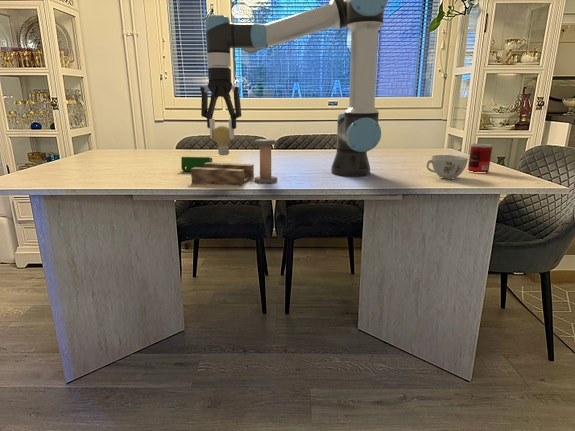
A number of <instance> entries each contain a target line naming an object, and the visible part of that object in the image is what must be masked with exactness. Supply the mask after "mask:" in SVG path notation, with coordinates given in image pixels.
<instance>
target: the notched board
mask: <svg viewBox="0 0 575 431" xmlns="http://www.w3.org/2000/svg"><path fill="white" fill-rule="evenodd" d="M254 165H255V164H253V163H252V164H251V163H233V162H231V163H230V162H229V163H228V162H207V163H205V164H204V168H202V167H194V168H192V169H191V172H190V173H191V183H192V184H201V185H204V184H205V185H221V186H239V187H241V186H243V185H245V184H247V183H248V182H250V181H251V180H254V178H255V174H254V170H255V169H254V168H255V166H254Z"/></svg>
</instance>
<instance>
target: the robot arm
mask: <svg viewBox="0 0 575 431" xmlns="http://www.w3.org/2000/svg"><path fill="white" fill-rule="evenodd" d="M388 1H389V0H330V1H329V4H328V3H327V4H325V5H322V6H319V7H315V8H311V9H309V10H306V11H302V12H300V13H296V14H292V15H290V16H288V17H284V18H281V19H278V20H275V21H271V22H267V23H265V24H264V23H258V22H254V23H253V22H252V23H245V22H243V23H237V22H235V23H234V22H231V21H230V17H228V16H227V15H223V14H222V15H220V14H211V15H207V17H206V18H205V39H206V50H207V52H206V54H207V67H208V69H207V76H208V78H207V79H208V83H207V85H205V86H200V87H199V89H200V90H199V91H200V93H201V104H200V105H201V106H200V108H201V109H200V112H201V114H200V115H201V117H202V118H205V119H206V124H207V125H206V127H207V128H208V129H209V136H210V138H209V139H214V137H213V132H214V130H215V128H216V123H215V121H216V120H215V119H216V118H214V117H213V116H214V113H215V112H214V111H215V108H216V104H217V100H218V98H220V97H221V98H223V100H224V101H225V106H226V108H227V111H228V114H229V116H230V119H228V128H229V139H231V140H233V139H235V130H236V129H237V120H238V119H239V118H241V117H242V106H241V97H240V93H241V87H240V86H237V85H236V86H235V85H233V82H232V69H231V62H232V61H231V49H242V50H243V52H245V53H247V54H255V53H258V52H259V51H261V50H264V49H267V48H270V47H274V46H277V45H280V44H283V43H287V42H289V41H294V40H297V39H300V38H303V37H306V36H309V35H312V34H315V33H318V32H319V33H320V32H322V31H325V30H329V29H332V28H335V29H337V30H339V29H343V28H346V27H347V28H348V30H349V31H350V34H351V36H350V39H351V40H350V66H349V68H350V70H349V71H350V73H349V100H348V101H349V102H348V103H349V106H348V108H346V110H345V111H344V112H340V113H339V114H338V115H337V116H338V117H337V130H336V132H337V134H336V139H337V140H336V154H335V156H334V158H333V162H332V165H331V168H330V169H331V171H330V172H331V173H332V175H333V174H334V175H337V176H343V177H363V176H368V175H370V174H371V165H370V162H369V158H368V153H367V152H369V151H372V150H374V148H376V147H377V146H378V145H379V143H380V141H381V137H382V129H381V126H380V124H379V115H380V113H379V112H380V111H379V110H378V109H377V108H376V106H375V105H376V85H377V84H376V82H377V81H376V80H377V62H378V61H377V58H378V55H377V54H378V38H379V30H380V29H381V27H383V26H384V16H385V15H384V12H385V11H384V10H385V8H386V7H387V4H388ZM209 91H210V92H211V93H210V100H209V99H208V98H209ZM231 91H232V93H233V102H234V105H233V103H232V100H231V98H232V97H231V94H230V92H231Z"/></svg>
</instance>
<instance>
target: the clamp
mask: <svg viewBox="0 0 575 431" xmlns="http://www.w3.org/2000/svg"><path fill="white" fill-rule="evenodd" d="M180 157H181V165H180V167H181V170H182V171H183V172H190V173H191V169H192V168H194V167H202V168H204V164H205V163H207V162H211V163H213V158H212V157H208V156H206V157H204V156H203V157H202V156H199V157H198V156H180Z"/></svg>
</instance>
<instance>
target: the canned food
mask: <svg viewBox="0 0 575 431" xmlns="http://www.w3.org/2000/svg"><path fill="white" fill-rule="evenodd" d="M469 150H470V151H469V157H468V166H467V170H469V171H473V172H488V173H489V170H490V164H491V160H492V159H491V158H492V153H493V152H492V151H493V144H490V143H489V144H488V143H471V144H470V149H469Z"/></svg>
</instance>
